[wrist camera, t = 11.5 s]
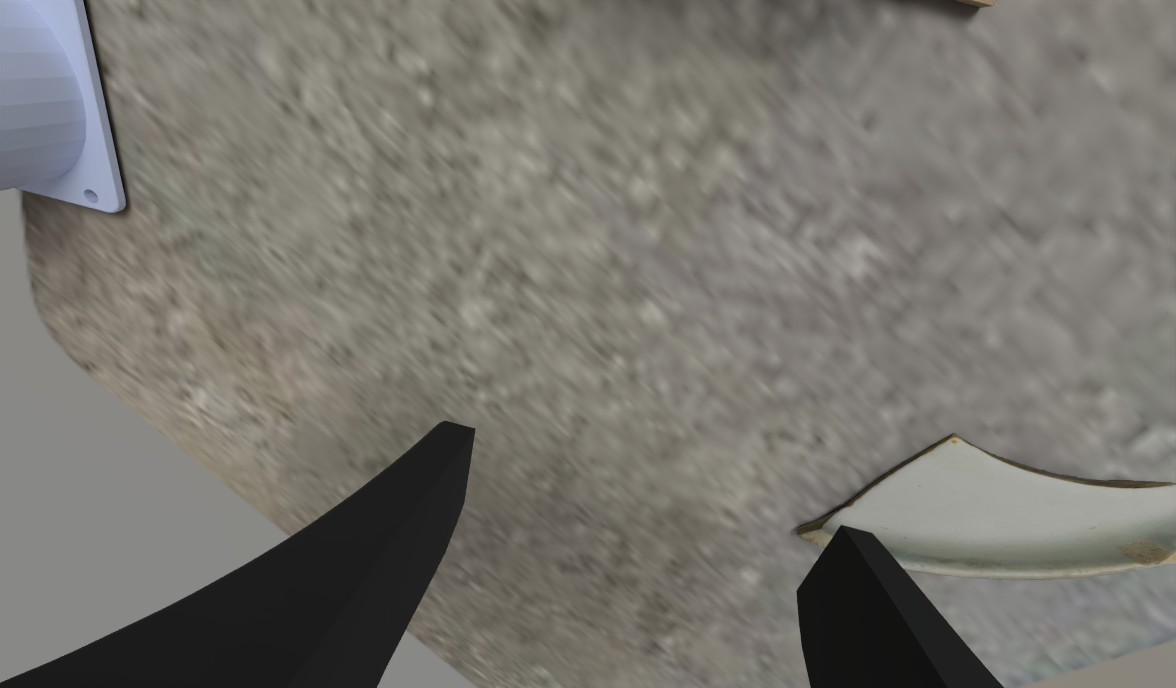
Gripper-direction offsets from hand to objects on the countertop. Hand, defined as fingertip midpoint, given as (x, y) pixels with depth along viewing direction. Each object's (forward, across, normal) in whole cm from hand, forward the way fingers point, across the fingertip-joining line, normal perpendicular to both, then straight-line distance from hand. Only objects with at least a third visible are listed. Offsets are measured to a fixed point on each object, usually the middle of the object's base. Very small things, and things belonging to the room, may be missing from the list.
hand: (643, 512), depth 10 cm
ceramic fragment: (+11, -15, +5) cm, 20 cm away
